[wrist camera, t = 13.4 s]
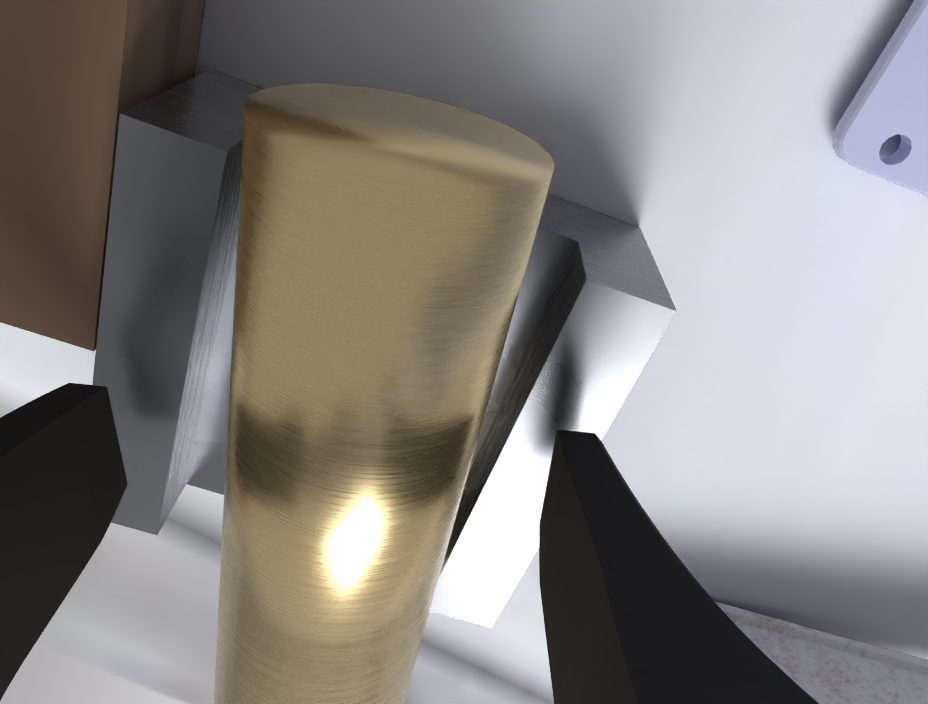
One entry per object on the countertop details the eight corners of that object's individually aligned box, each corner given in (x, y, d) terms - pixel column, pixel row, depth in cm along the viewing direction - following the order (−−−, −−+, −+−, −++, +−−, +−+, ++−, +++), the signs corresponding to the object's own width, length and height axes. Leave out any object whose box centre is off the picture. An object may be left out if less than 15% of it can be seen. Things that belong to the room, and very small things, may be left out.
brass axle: (281, 66, 11) (200, 139, 7) (538, 122, 11) (575, 214, 8) (241, 595, 17) (188, 768, 14) (409, 616, 17) (398, 788, 14)
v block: (640, 227, 14) (676, 310, 11) (493, 510, 18) (491, 628, 15) (209, 68, 13) (120, 113, 10) (155, 408, 17) (79, 513, 14)
